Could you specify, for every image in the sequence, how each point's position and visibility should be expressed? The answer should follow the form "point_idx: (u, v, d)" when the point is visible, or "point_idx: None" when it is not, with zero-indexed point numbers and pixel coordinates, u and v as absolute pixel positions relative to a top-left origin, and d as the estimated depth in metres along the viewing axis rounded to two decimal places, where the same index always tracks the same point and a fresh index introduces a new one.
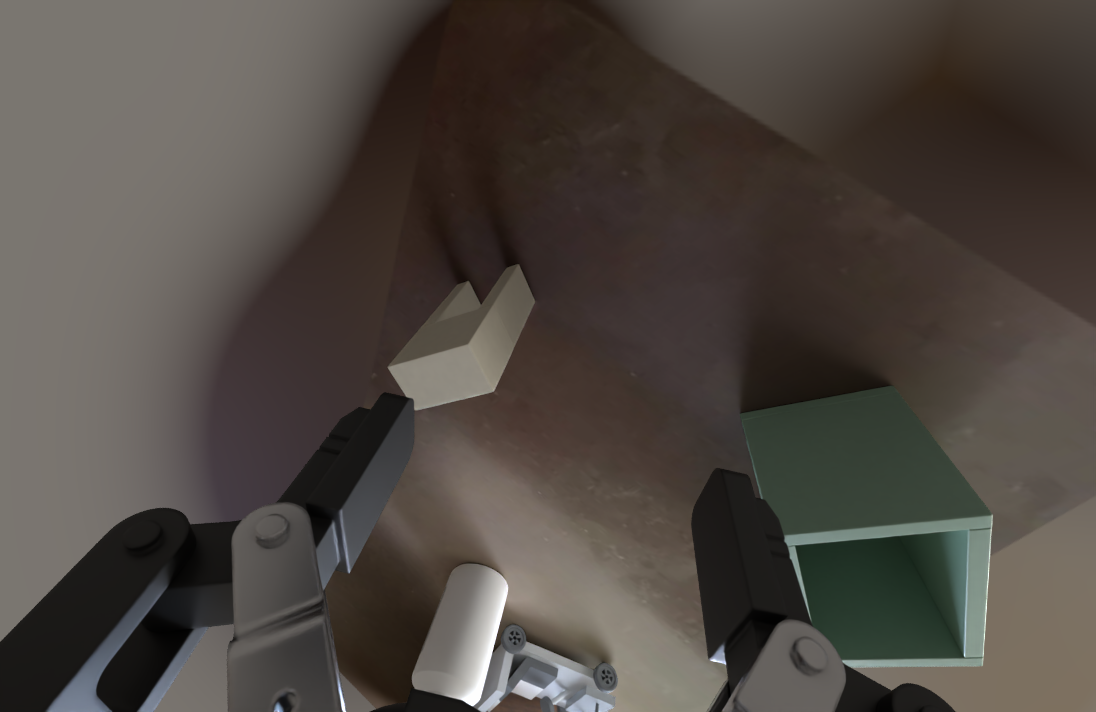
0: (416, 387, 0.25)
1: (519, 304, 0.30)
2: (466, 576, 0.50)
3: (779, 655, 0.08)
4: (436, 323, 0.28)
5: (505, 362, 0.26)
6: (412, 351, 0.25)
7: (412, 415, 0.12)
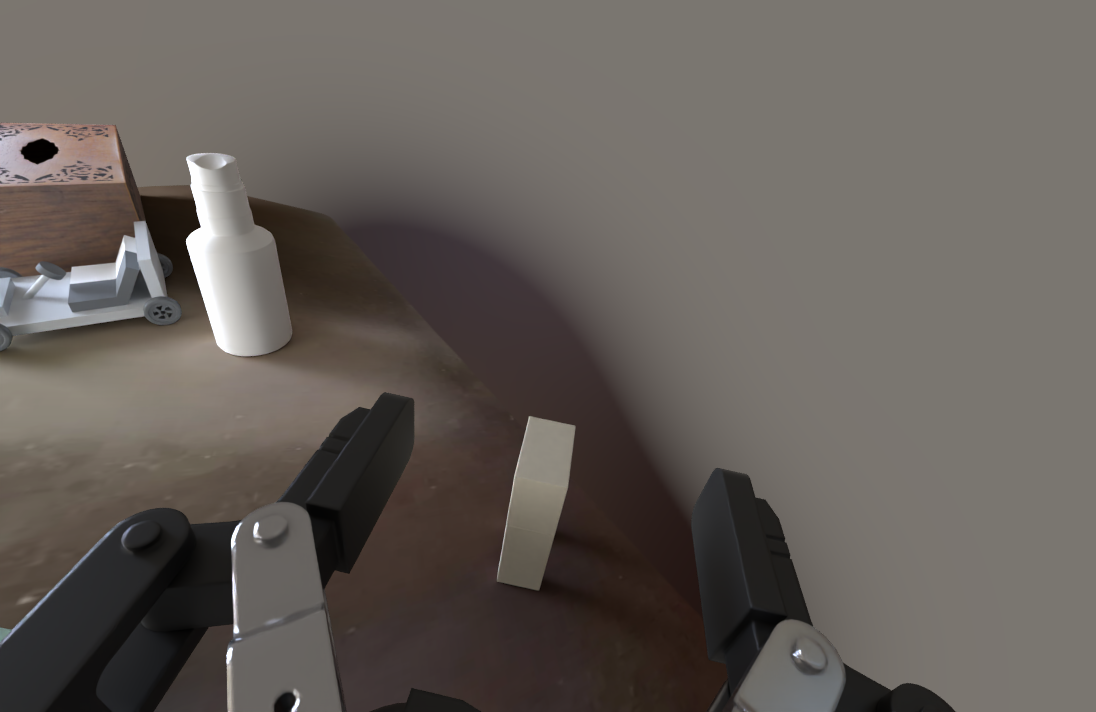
0: (548, 430, 0.29)
1: (518, 561, 0.30)
2: (280, 334, 0.47)
3: (779, 655, 0.08)
4: None
5: (512, 506, 0.27)
6: None
7: (412, 415, 0.12)
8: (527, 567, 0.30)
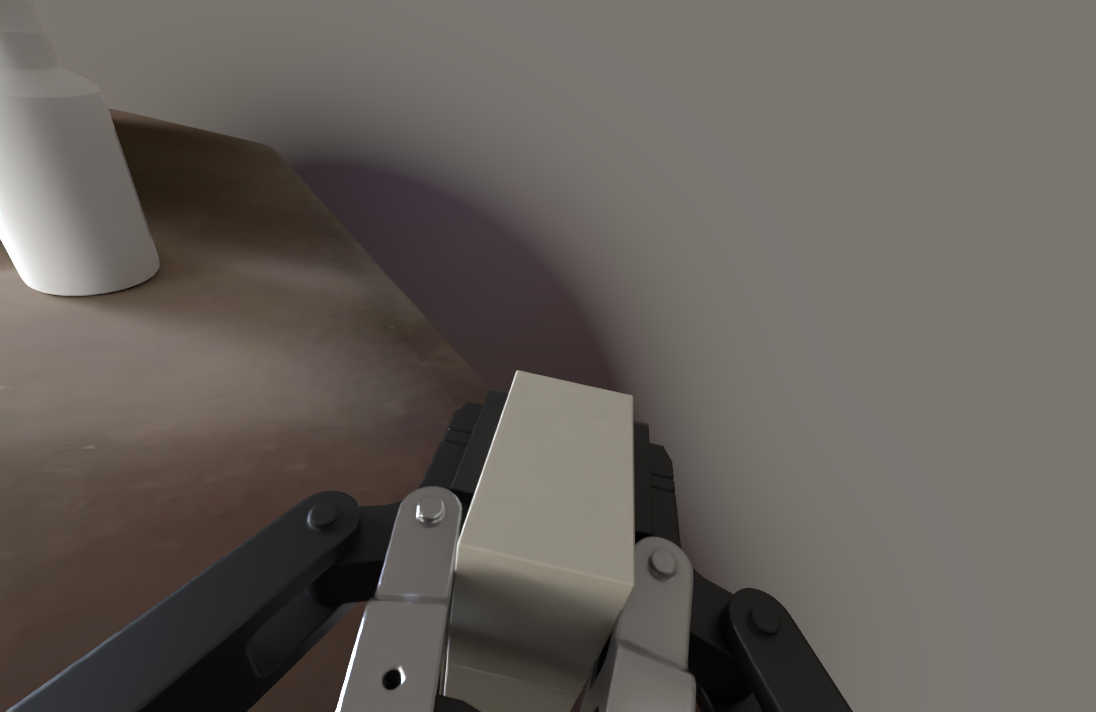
0: (566, 404, 0.11)
1: None
2: (126, 262, 0.29)
3: (640, 576, 0.09)
4: None
5: (457, 623, 0.09)
6: None
7: None
8: None
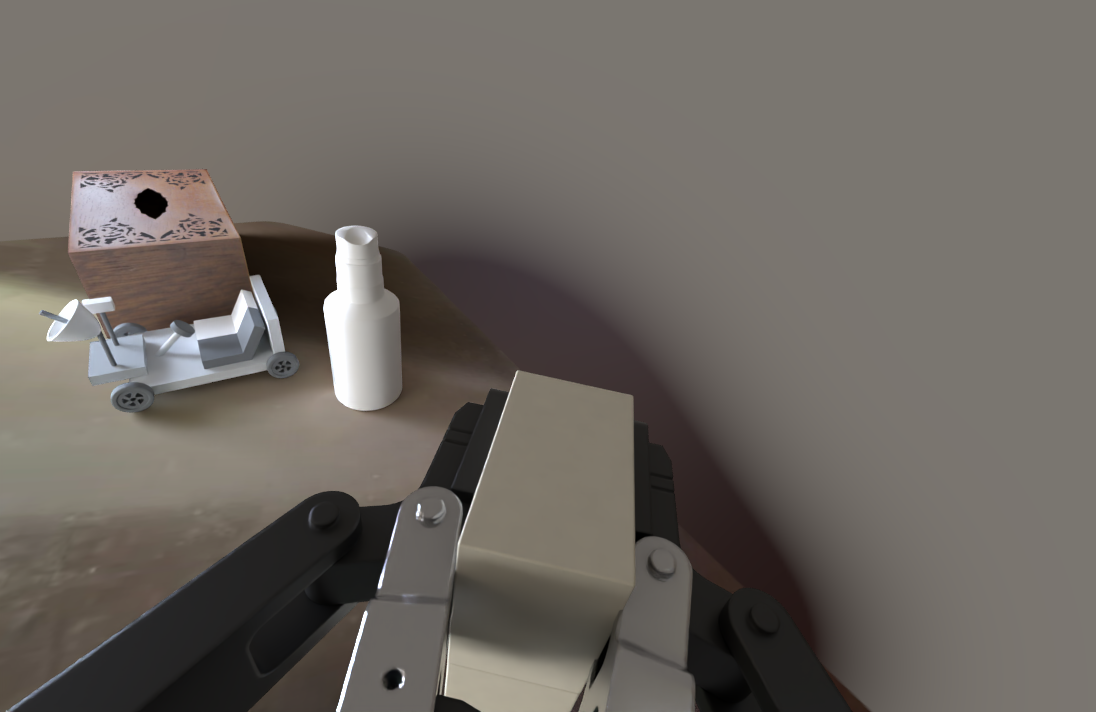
0: (566, 404, 0.11)
1: None
2: (396, 388, 0.49)
3: (640, 575, 0.09)
4: None
5: (458, 623, 0.09)
6: None
7: None
8: None
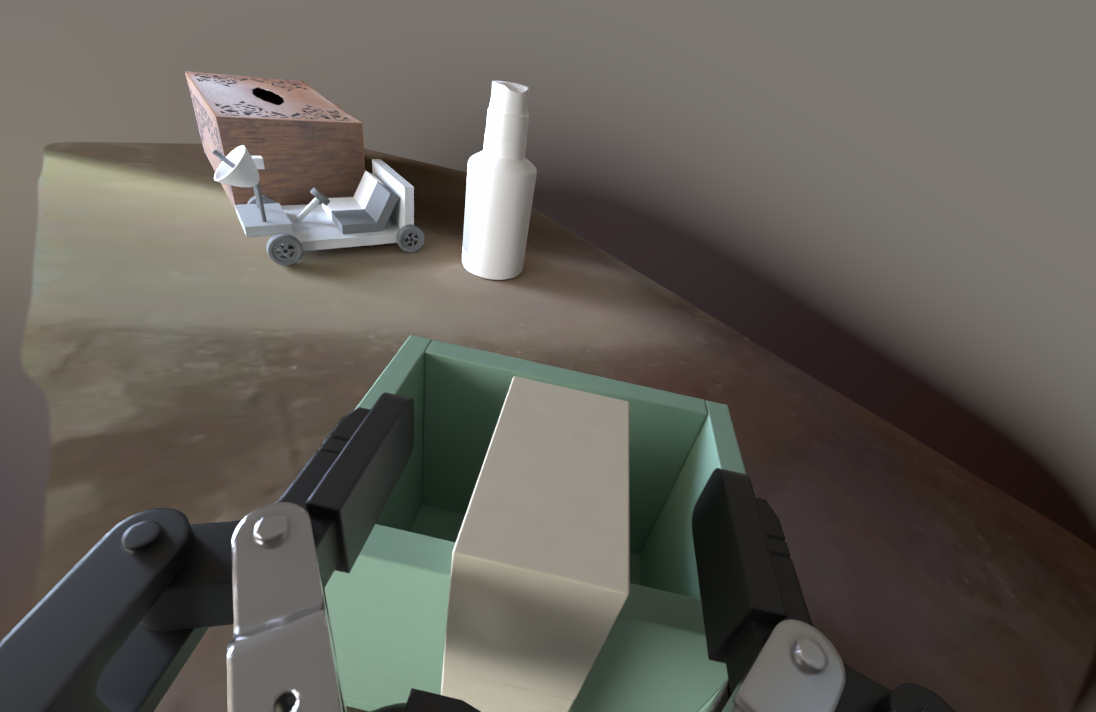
0: (562, 410, 0.11)
1: None
2: (522, 261, 0.51)
3: (779, 655, 0.08)
4: None
5: (453, 630, 0.09)
6: None
7: (412, 415, 0.12)
8: None
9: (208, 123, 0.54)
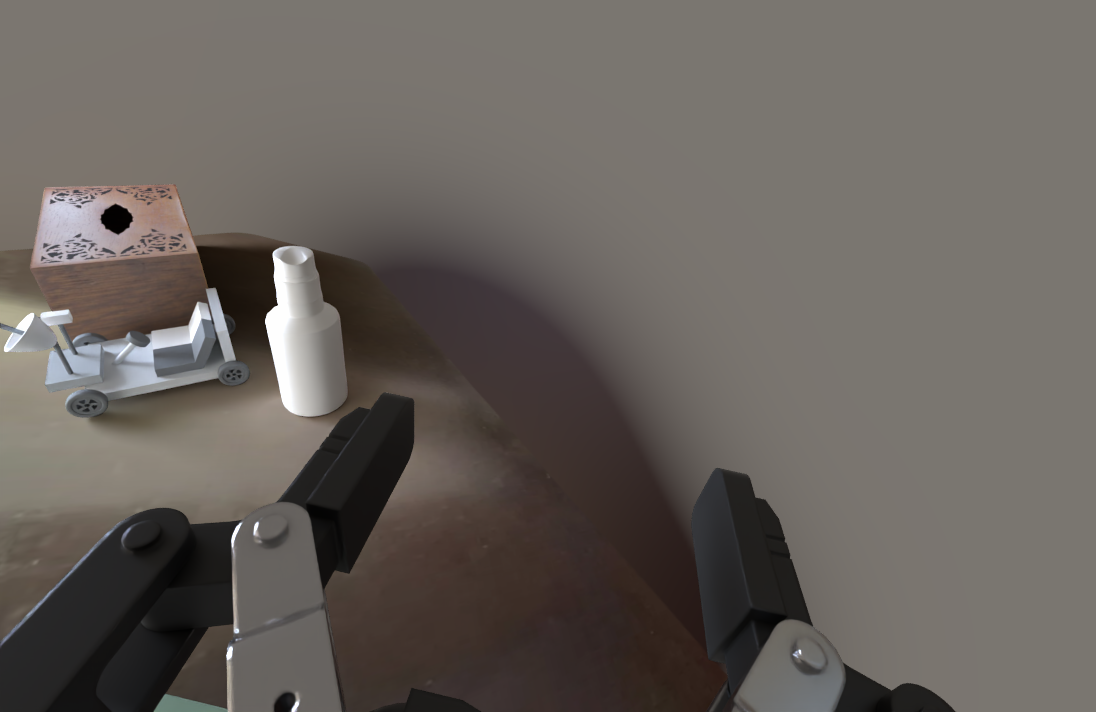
0: None
1: None
2: (339, 396, 0.53)
3: (779, 655, 0.08)
4: None
5: None
6: None
7: (412, 415, 0.12)
8: None
9: None
